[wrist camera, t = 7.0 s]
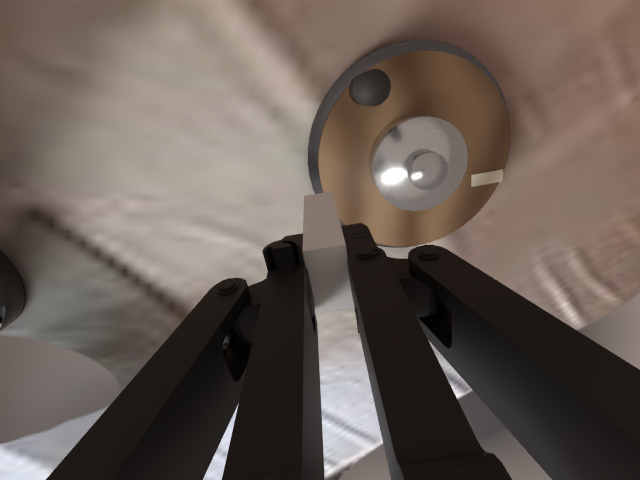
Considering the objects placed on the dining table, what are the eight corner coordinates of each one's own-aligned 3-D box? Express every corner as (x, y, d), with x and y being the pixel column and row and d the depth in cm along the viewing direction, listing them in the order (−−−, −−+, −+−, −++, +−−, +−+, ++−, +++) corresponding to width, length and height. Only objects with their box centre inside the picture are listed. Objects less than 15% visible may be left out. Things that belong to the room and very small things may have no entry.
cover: (373, 207, 31) (384, 226, 27) (363, 124, 28) (373, 130, 23) (453, 192, 31) (478, 208, 26) (452, 106, 27) (481, 108, 23)
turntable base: (326, 257, 37) (327, 262, 35) (288, 66, 28) (287, 65, 27) (497, 226, 36) (503, 230, 35) (510, 19, 27) (519, 16, 26)
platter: (334, 253, 35) (339, 285, 29) (301, 75, 27) (299, 69, 21) (495, 224, 34) (534, 251, 28) (507, 32, 27) (564, 14, 21)
